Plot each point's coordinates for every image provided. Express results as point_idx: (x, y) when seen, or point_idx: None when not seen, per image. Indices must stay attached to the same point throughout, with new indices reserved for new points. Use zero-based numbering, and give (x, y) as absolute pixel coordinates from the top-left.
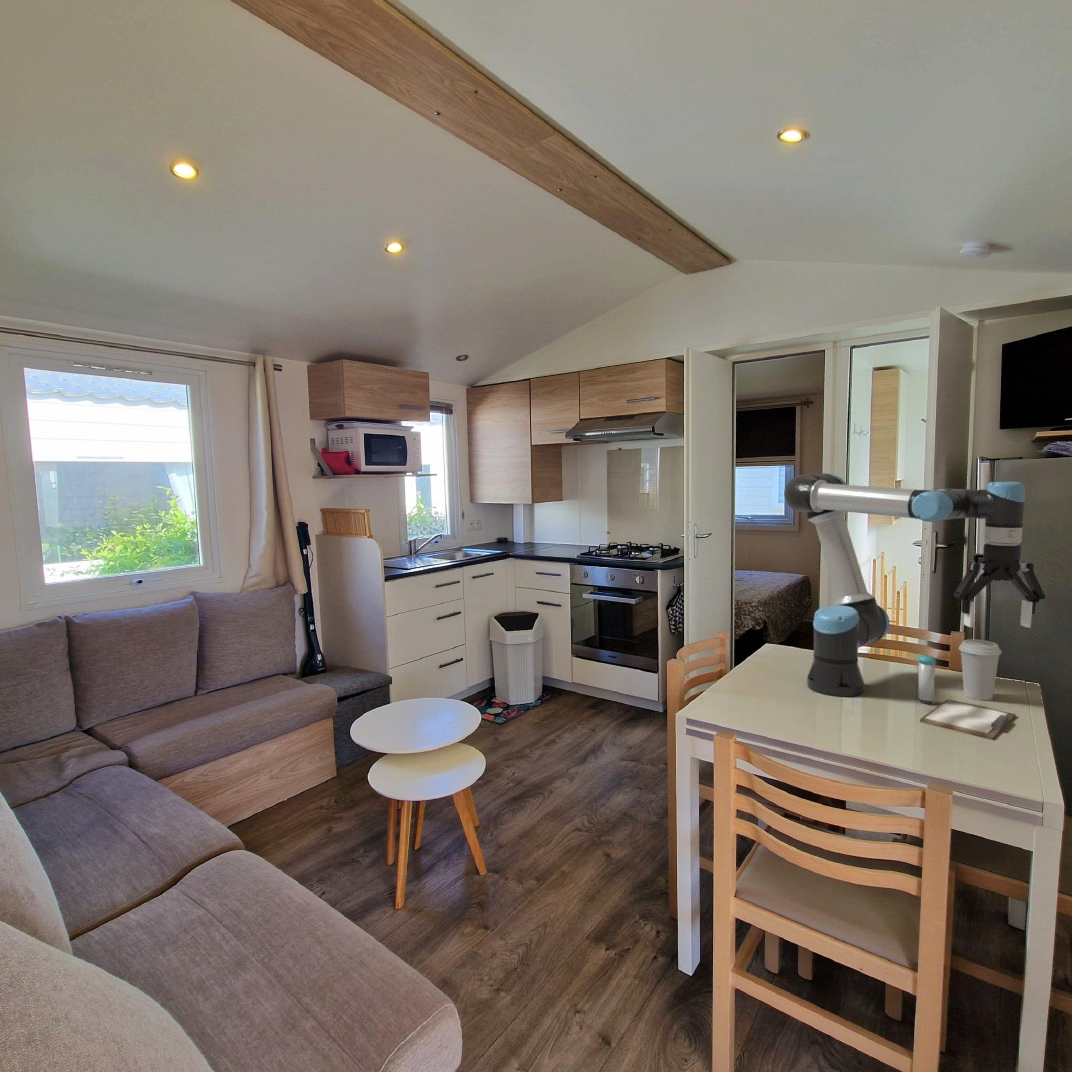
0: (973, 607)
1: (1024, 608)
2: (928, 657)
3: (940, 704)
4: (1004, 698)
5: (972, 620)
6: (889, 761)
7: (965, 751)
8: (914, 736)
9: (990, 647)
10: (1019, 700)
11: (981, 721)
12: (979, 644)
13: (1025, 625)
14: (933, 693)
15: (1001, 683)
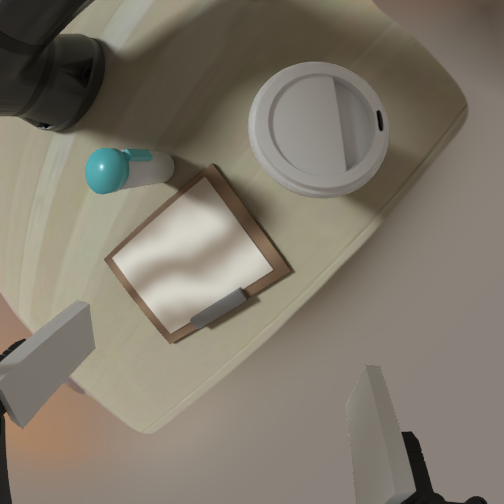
0: (36, 407)
1: (373, 462)
2: (104, 173)
3: (176, 194)
4: None
5: (73, 365)
6: None
7: (119, 356)
8: None
9: (318, 187)
10: (380, 187)
11: (192, 293)
12: (316, 127)
13: (350, 401)
14: (160, 181)
15: (425, 85)
